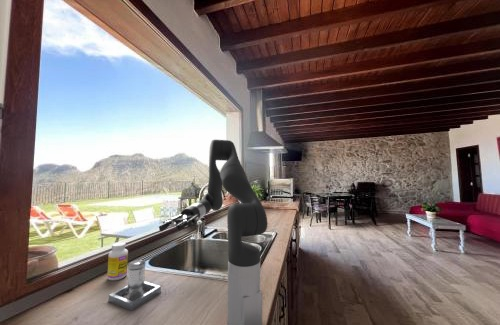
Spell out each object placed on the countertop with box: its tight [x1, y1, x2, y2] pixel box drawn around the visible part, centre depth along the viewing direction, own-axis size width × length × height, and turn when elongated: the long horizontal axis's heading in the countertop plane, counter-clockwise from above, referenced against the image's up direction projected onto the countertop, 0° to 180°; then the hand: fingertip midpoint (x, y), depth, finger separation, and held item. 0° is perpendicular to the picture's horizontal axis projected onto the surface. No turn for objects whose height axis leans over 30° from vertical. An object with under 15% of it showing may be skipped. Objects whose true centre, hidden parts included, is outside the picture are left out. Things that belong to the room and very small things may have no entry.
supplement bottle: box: [106, 241, 129, 281], centre depth 84 cm, size 7×7×13 cm
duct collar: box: [108, 281, 162, 311], centre depth 71 cm, size 11×11×2 cm
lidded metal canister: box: [126, 259, 146, 301], centre depth 71 cm, size 5×5×11 cm
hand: (168, 228), depth 80 cm, fingers open, 8 cm apart
